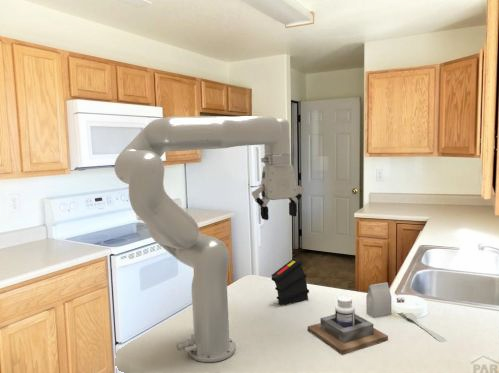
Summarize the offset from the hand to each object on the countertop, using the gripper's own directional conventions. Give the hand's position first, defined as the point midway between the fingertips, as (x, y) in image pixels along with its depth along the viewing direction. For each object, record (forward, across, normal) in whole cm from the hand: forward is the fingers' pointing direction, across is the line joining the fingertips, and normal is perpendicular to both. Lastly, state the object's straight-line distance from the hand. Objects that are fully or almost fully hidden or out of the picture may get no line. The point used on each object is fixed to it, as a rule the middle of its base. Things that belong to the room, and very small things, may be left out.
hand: (279, 217), depth 120 cm
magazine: (+34, +11, +13) cm, 38 cm away
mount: (+33, +12, -16) cm, 39 cm away
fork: (+34, +34, -22) cm, 53 cm away
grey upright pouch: (+34, +30, -10) cm, 46 cm away
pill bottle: (+32, +12, -16) cm, 38 cm away
